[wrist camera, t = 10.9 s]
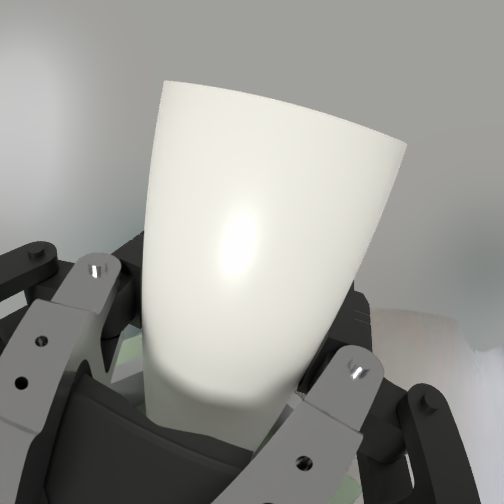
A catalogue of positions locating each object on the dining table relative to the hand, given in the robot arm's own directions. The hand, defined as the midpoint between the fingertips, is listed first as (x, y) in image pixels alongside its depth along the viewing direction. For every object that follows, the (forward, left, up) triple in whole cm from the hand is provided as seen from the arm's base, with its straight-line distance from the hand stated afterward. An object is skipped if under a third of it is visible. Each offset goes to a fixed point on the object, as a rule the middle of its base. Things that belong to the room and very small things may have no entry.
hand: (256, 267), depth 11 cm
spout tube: (-1, +2, -8) cm, 9 cm away
